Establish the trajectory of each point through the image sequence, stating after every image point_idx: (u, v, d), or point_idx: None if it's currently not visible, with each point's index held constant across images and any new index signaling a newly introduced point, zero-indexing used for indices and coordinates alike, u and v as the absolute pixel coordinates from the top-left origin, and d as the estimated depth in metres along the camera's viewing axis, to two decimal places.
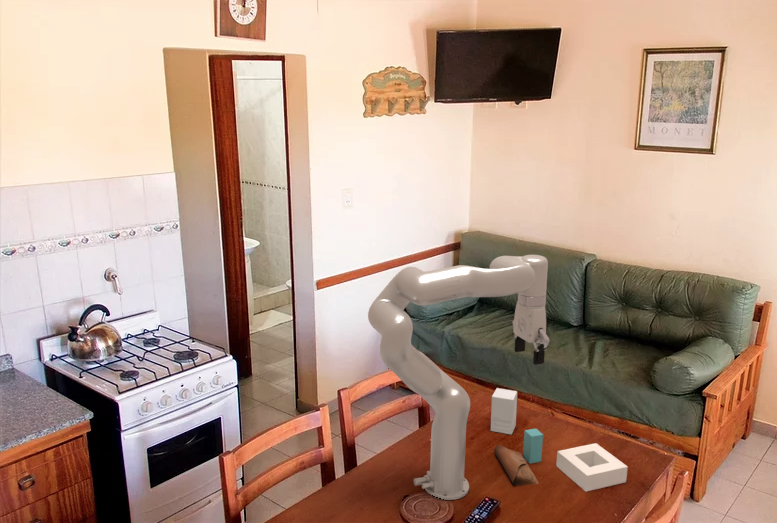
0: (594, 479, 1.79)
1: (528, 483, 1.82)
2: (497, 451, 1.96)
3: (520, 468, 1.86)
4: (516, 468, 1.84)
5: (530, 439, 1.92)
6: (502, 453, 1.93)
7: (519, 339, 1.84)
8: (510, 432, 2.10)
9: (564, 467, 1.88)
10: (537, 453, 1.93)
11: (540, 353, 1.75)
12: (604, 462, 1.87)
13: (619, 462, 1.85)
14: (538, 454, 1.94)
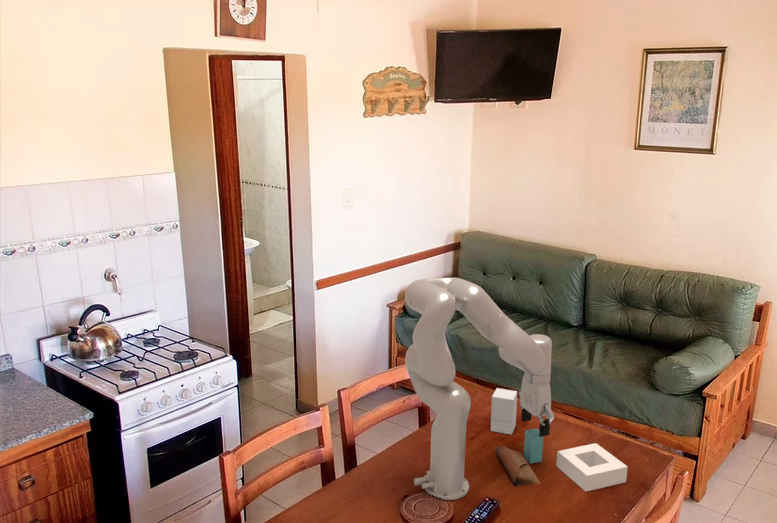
0: (594, 479, 1.79)
1: (529, 483, 1.82)
2: (498, 451, 1.96)
3: (521, 468, 1.86)
4: (517, 468, 1.84)
5: (531, 439, 1.92)
6: (503, 454, 1.93)
7: (525, 410, 1.97)
8: (510, 433, 2.10)
9: (564, 467, 1.88)
10: (538, 453, 1.93)
11: (545, 426, 1.88)
12: (604, 462, 1.87)
13: (619, 462, 1.85)
14: (538, 454, 1.94)
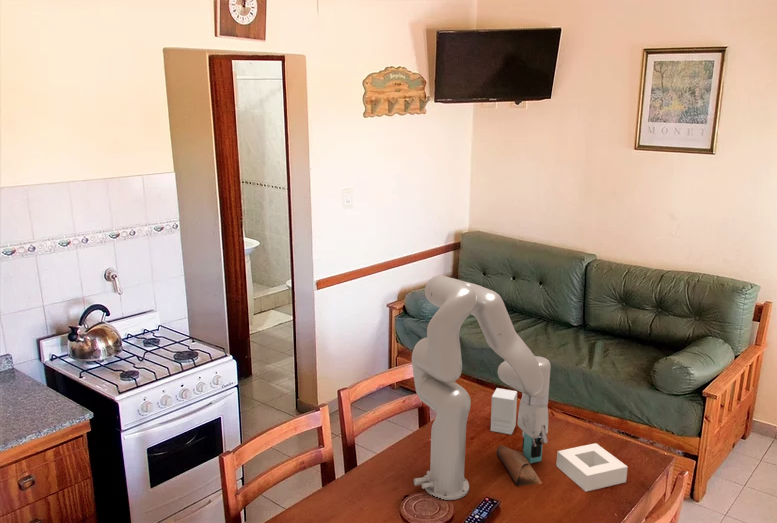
0: (594, 479, 1.79)
1: (531, 483, 1.82)
2: (499, 451, 1.96)
3: (523, 468, 1.86)
4: (519, 468, 1.84)
5: (531, 439, 1.92)
6: (504, 454, 1.93)
7: None
8: (510, 432, 2.10)
9: (564, 467, 1.88)
10: None
11: (537, 448, 1.91)
12: (604, 462, 1.87)
13: (619, 462, 1.85)
14: None
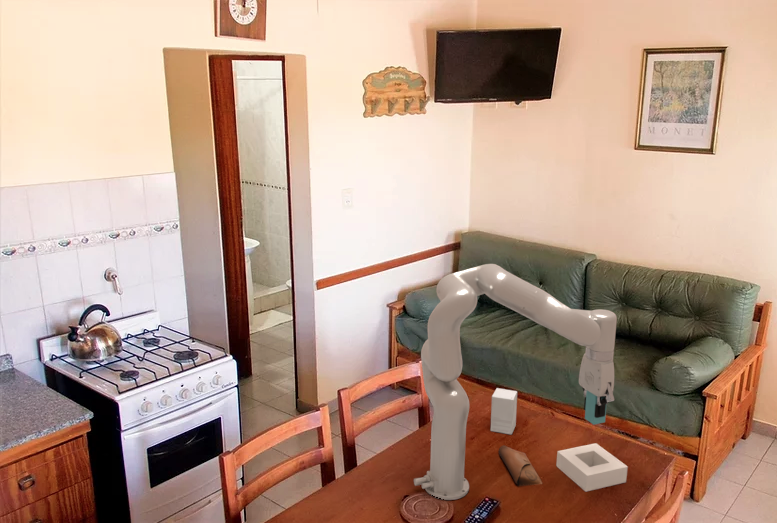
0: (594, 479, 1.79)
1: (532, 483, 1.82)
2: (501, 451, 1.96)
3: (524, 468, 1.86)
4: (520, 468, 1.84)
5: (594, 398, 1.80)
6: (506, 454, 1.93)
7: None
8: (510, 432, 2.10)
9: (564, 467, 1.88)
10: None
11: (602, 407, 1.80)
12: (604, 462, 1.87)
13: (619, 462, 1.85)
14: None
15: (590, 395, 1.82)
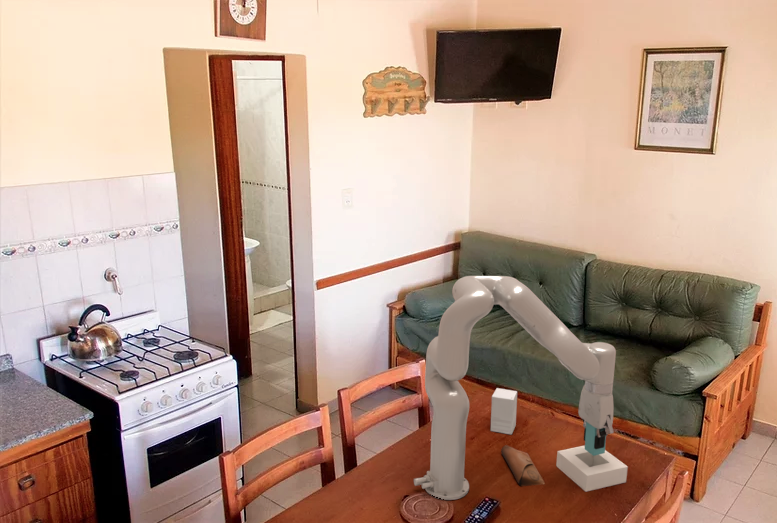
0: (594, 479, 1.79)
1: (534, 483, 1.82)
2: (504, 451, 1.96)
3: (526, 468, 1.86)
4: (522, 468, 1.84)
5: (594, 430, 1.82)
6: (508, 454, 1.93)
7: None
8: (510, 432, 2.10)
9: (564, 467, 1.88)
10: None
11: (601, 438, 1.82)
12: (604, 462, 1.87)
13: (619, 462, 1.85)
14: None
15: (590, 426, 1.84)
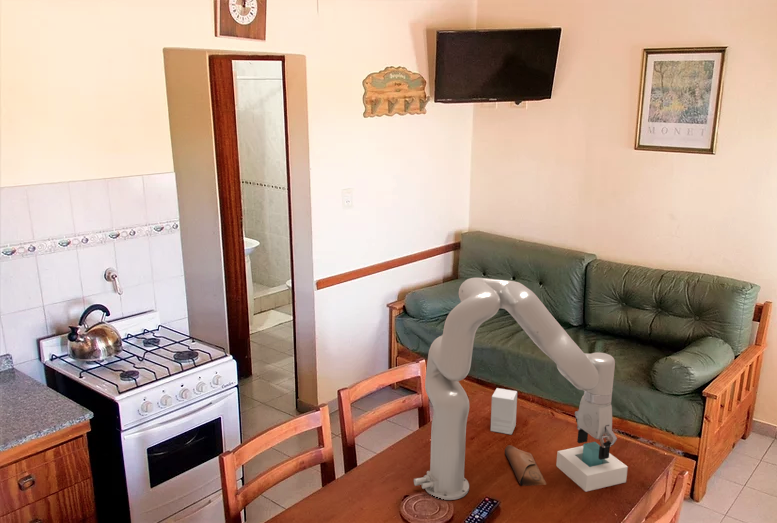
0: (594, 479, 1.79)
1: (535, 483, 1.82)
2: (507, 451, 1.96)
3: (528, 468, 1.86)
4: (524, 468, 1.84)
5: (590, 453, 1.84)
6: (511, 453, 1.93)
7: (582, 431, 1.89)
8: (510, 432, 2.10)
9: (564, 467, 1.88)
10: None
11: (606, 449, 1.80)
12: (604, 462, 1.87)
13: (619, 462, 1.85)
14: None
15: (586, 449, 1.86)
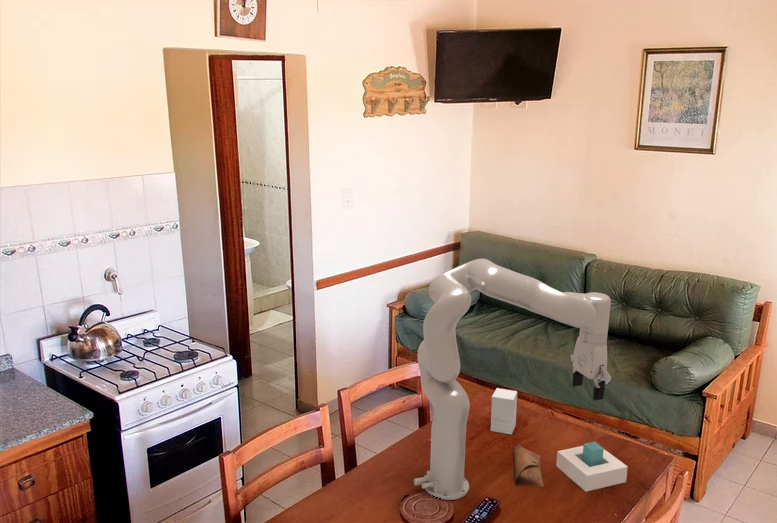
0: (594, 479, 1.79)
1: (532, 484, 1.82)
2: (514, 450, 1.97)
3: (528, 468, 1.86)
4: (522, 467, 1.84)
5: (590, 453, 1.84)
6: (517, 452, 1.94)
7: (577, 374, 1.88)
8: (510, 432, 2.10)
9: (564, 467, 1.88)
10: None
11: (600, 389, 1.78)
12: (604, 462, 1.87)
13: (619, 462, 1.85)
14: None
15: (587, 449, 1.86)
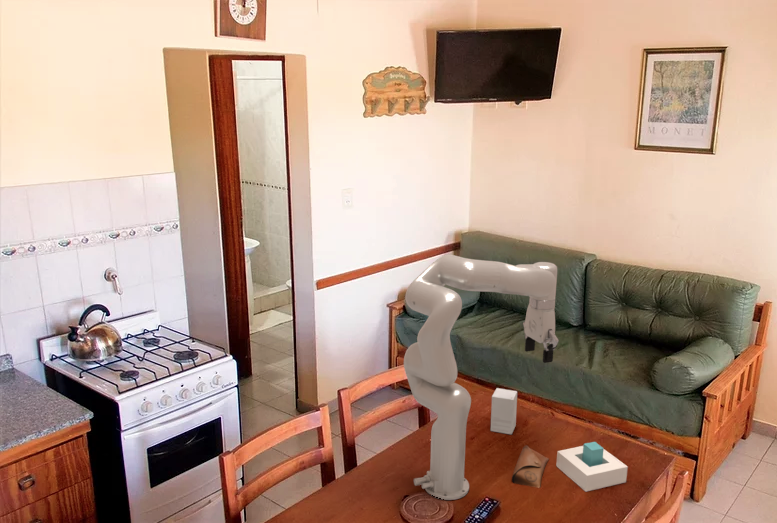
0: (594, 479, 1.79)
1: (528, 484, 1.82)
2: (522, 450, 1.97)
3: (528, 468, 1.86)
4: (520, 467, 1.85)
5: (590, 453, 1.84)
6: (522, 452, 1.94)
7: (529, 339, 2.00)
8: (510, 432, 2.10)
9: (564, 467, 1.88)
10: None
11: (549, 352, 1.91)
12: (604, 462, 1.87)
13: (619, 462, 1.85)
14: None
15: (587, 449, 1.86)
